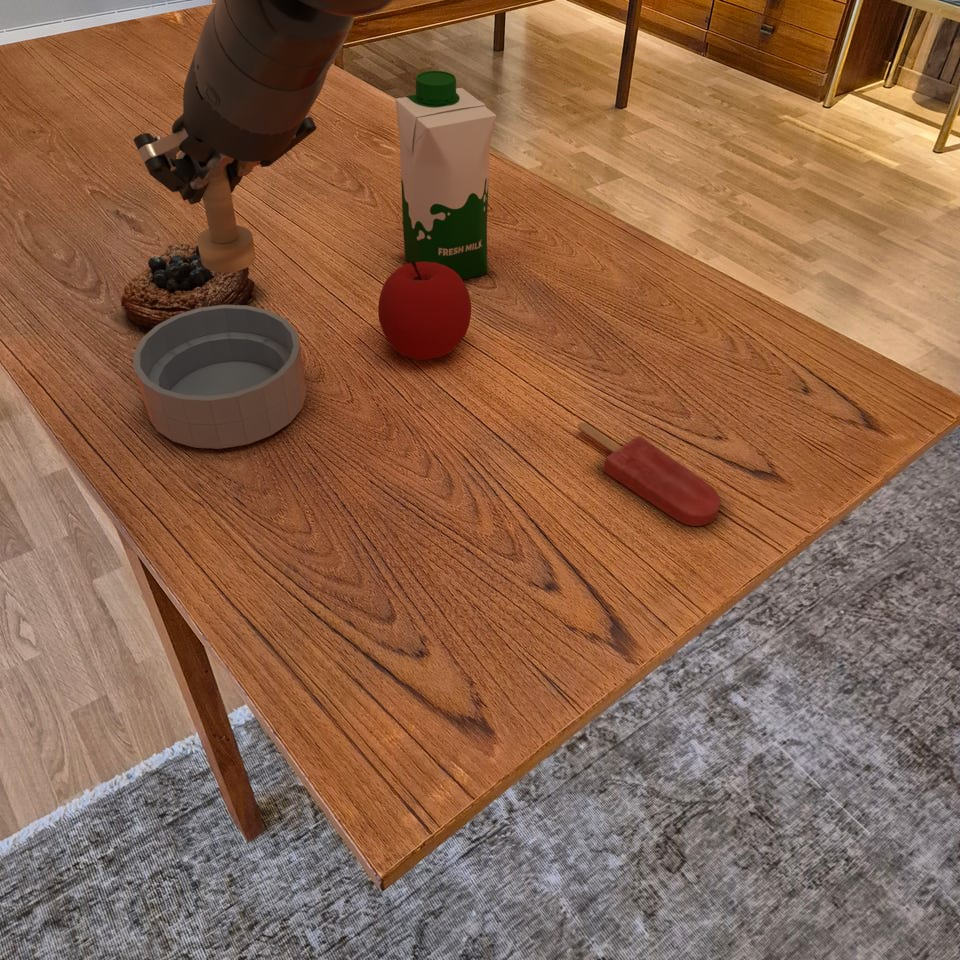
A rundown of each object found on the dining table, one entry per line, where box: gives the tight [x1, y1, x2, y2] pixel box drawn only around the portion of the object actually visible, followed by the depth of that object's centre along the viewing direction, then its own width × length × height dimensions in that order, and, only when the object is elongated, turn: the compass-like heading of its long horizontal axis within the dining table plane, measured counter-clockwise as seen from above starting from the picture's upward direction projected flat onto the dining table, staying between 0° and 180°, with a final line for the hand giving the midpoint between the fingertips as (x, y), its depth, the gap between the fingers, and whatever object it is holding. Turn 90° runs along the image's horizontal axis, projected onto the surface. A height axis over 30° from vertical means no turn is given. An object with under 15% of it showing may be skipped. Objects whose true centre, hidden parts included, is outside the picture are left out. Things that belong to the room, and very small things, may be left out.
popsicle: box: [577, 421, 721, 527], centre depth 76 cm, size 4×2×15 cm
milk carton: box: [395, 70, 497, 281], centre depth 94 cm, size 9×9×20 cm
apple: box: [377, 259, 472, 361], centre depth 86 cm, size 9×9×10 cm
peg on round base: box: [196, 167, 257, 273], centre depth 69 cm, size 4×4×12 cm
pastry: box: [120, 242, 257, 334], centre depth 92 cm, size 11×12×6 cm
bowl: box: [132, 305, 307, 450], centre depth 80 cm, size 14×14×6 cm
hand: (204, 187), depth 71 cm, fingers closed on peg on round base, 2 cm apart
